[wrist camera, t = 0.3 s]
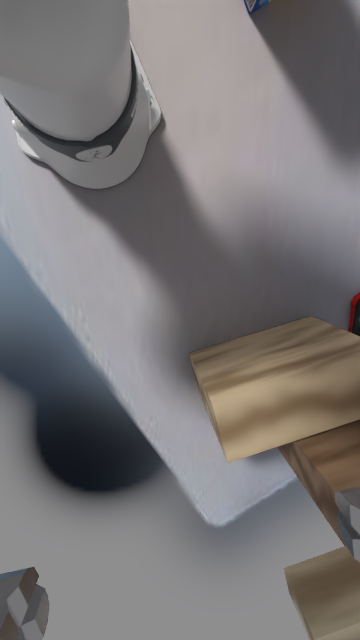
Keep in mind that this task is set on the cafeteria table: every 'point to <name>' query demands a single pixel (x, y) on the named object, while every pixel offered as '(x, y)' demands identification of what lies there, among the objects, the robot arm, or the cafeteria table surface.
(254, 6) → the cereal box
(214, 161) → the cafeteria table surface
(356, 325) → the game console
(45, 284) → the cafeteria table surface
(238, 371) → the oak stand
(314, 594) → the maple batten
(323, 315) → the cafeteria table surface
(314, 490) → the walnut block
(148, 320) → the cafeteria table surface
